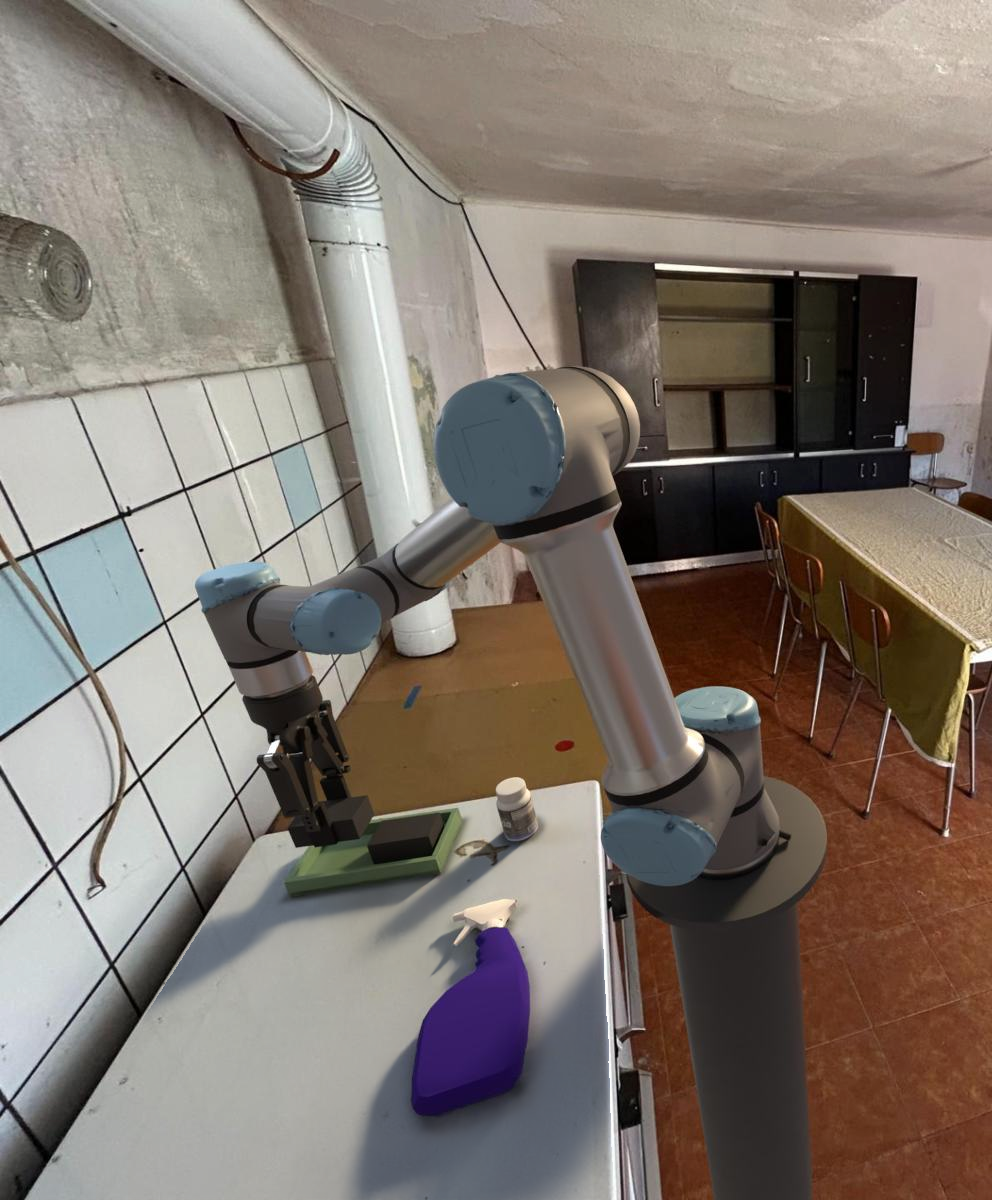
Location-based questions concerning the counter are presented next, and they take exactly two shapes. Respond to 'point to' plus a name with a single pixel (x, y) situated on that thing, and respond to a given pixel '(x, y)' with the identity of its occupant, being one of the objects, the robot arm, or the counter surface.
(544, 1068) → the counter surface
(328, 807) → the dark brown rectangular block
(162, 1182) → the counter surface
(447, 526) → the robot arm
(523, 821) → the pill bottle
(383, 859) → the pad
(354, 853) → the tray
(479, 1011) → the spray bottle
